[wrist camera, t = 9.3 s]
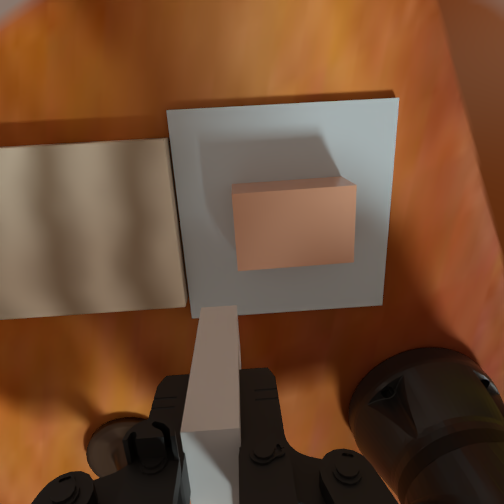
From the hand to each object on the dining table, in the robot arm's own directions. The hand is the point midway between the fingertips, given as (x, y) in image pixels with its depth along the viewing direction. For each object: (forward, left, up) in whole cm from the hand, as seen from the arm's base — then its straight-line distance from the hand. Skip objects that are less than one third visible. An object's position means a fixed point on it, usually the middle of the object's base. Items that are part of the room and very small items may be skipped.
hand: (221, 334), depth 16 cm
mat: (-5, 0, -17) cm, 18 cm away
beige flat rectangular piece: (+13, 0, -17) cm, 22 cm away
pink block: (-5, 0, -17) cm, 17 cm away
